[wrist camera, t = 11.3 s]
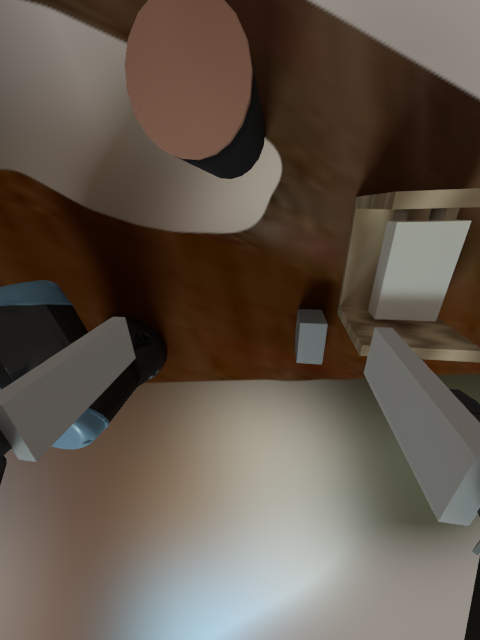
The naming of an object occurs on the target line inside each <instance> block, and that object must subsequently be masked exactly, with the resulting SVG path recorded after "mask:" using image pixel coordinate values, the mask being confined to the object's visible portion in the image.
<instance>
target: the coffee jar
mask: <svg viewBox="0 0 480 640" xmlns="http://www.w3.org/2000/svg"><path fill="white" fill-rule="evenodd" d="M125 71H126V81H127V91H128V95H129V98H130V101H131V104H132V107H133V110H134V113H135V116H136V118H137V119H138V121H139V123H140V124H141V126H142V128H143V129H144V131H145V132H146V134H147V136H148V137H149V138H150V139H151V140H152V141H154V143H155V144H157V145H158V146H159V147H160V148H161V149H162V150H163V151H165V152H168V153H170V154H172V155H174V156H176V157H177V158H179V159H182V160H184V161H186V162H188V163H190V164H192V165H194V166H196V167H198V168H200V169H202V170H204V171H207V172H209V173H211V174H213V175H215V176H217V177H220V178H226V179H233V178H236V177H239V176H242V175H243V174H245V173H246V172H248V171H249V170H250V169H251V168H252V167H253V165H254V164H255V163H256V161H257V160H258V159H259V156H260V154H261V151H262V148H263V146H264V137H265V126H264V120H263V114H262V109H261V104H260V99H259V94H258V88H257V83H256V78H255V73H254V68H253V63H252V59H251V56H250V50H249V44H248V39H247V37H246V35H245V32H244V30H243V28H242V26H241V23H240V21H239V19H238V16H237V14H236V13H235V12H234V10H233V9H232V8H231V7H230V6H229V5H228V4H227V2H226V1H225V0H148V1H147V2H146V4H145V5H144V6H143V7H142V8H141V10H140V11H139V12H138V14H137V17H136V19H135V22H134V24H133V27H132V29H131V32H130V35H129V37H128V44H127V52H126V61H125Z"/></svg>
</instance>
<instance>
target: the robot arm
mask: <svg viewBox="0 0 480 640" xmlns="http://www.w3.org/2000/svg"><path fill="white" fill-rule="evenodd" d="M166 357H167V353H166V348H165V345H164V343H163V341H162V339H161V338H160V336H159V335H158V334H157V333H156V332H155V331H154V330H153V329H152V328H150V327H149V326H147V325H146V324H144V323H142V322H139V321H136V320H132V319H125V317H112V318H110V319H109V320H107V321H106V322H104V323H103V324H101V325H99V326H98V327H96V328H95V329H93V330H92V331H90V332H89V333H88V331H87V329H86V328H85V326H84V324H83V323H82V321H81V319H80V317H79V316H78V314H77V312H76V311H75V309H74V307H73V304H72V303H71V302H70V301H69V300H68V299H67V297H66V296H65V294H64V293H63V291H62V290H61V288H60V287H59V286H58V285H57V284H55V283H54V282H51V281H47V280H39V281H31V282H25V283H19V284H13V285H7V286H2V287H0V484H1V481H2V477H3V474H4V471H5V467H6V458H5V457H4V454H6V453H7V452H8V451H9V450H10V449H11V448H12V450H13V451H14V453H15V454H16V456H17V457H18V459H21V460H27V461H34V462H37V461H38V460H39V459H40V458H41V457H42V456H43V455H44V454H45V452H46V451H47V450H48V449H49V448H50V447H51V446H53V447H56V448H61V449H79V448H83V447H85V446H87V445H89V444H90V443H92V442H93V441H94V440H95V439H96V438H97V437H98V436H99V435H100V433H101V432H102V431H103V430H104V429H106V428H107V427H108V425H109V423H110V421H111V420H112V419H113V417H114V416H115V415H116V414H117V412H118V411H119V410H120V409H121V407H122V406H123V405H124V403H125V402H126V401H127V399H128V398H129V397H130V396H131V395H132V393H133V392H134V391H135V389H136V388H137V387H138V386H140V385H141V384H143V383H145V382H146V381H148V380H149V379H151V378H153V377H154V376H156V375H157V374H158V373H159V372H160V370H161V369H162V368H163V366H164V364H165V362H166ZM364 375H365V377H366V379H367V380H368V383H369V385H370V387H371V389H372V390H373V393H374V395H375V397H376V399H377V401H378V403H379V405H380V407H381V409H382V411H383V413H384V415H385V417H386V419H387V421H388V423H389V425H390V427H391V429H392V430H393V433H394V435H395V437H396V439H397V441H398V442H399V445H400V447H401V449H402V451H403V452H404V454H405V457H406V459H407V460H408V463H409V465H410V467H411V469H412V471H413V472H414V475H415V477H416V479H417V480H418V482H419V484H420V487H421V489H422V490H423V493H424V494H425V496H426V499H427V501H428V502H429V504H430V506H431V508H432V510H433V512H434V514H435V516H436V518H437V520H438V521H439V522H445V523H452V524H459V525H466V526H469V525H470V524H471V522H472V521H473V519H474V518H475V517H476V515H477V514H479V516H480V404H479V403H478V402H477V401H476V400H474V399H472V398H471V397H469V396H468V395H466V394H465V393H463V392H461V391H460V390H455V389H448V388H447V387H446V386H445V385H444V383H442V381H441V380H440V379H439V378H438V377H437V376H436V375H435V374H434V373H433V372H432V370H431V369H430V368H429V367H428V366H427V365H426V364H425V363H424V362H423V361H422V360H421V359H420V357H419V356H418V355H417V354H416V353H415V352H414V351H413V350H412V349H411V348H410V347H409V346H408V344H407V343H406V342H405V341H404V340H403V339H402V338H401V337H400V336H399V335H398V334H397V333H396V331H395V330H394V329H393V328H385V327H375V329H374V333H373V337H372V341H371V345H370V350H369V354H368V358H367V362H366V366H365V371H364ZM473 552H474V553H475V554H477V555H478V554H479V553H480V541H479V542H478V544H477V545H476V546H475V548H474V549H473ZM464 640H480V559H479V564H478V569H477V574H476V580H475V585H474V591H473V596H472V601H471V607H470V612H469V617H468V623H467V628H466V634H465V639H464Z"/></svg>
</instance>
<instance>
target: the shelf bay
mask: <svg viewBox="0 0 480 640" xmlns="http://www.w3.org/2000/svg"><path fill="white" fill-rule="evenodd" d="M462 207H480V188H475V189H450V190H425V191H400V192H389V193H382V194H374V195H366V196H359V197H356V198H355V204H354V210H353V217H352V223H351V229H350V236H349V242H348V248H347V255H346V261H345V267H344V274H343V280H342V286H341V293H340V299H339V305H338V312H337V314H338V316H339V318H340V319H341V321H342V323H343V325H344V327H345V329H346V331H347V333H348V334H349V336H350V338H351V340H352V342H353V344H354V346H355V348H356V349H357V351H358V353H359V355H360V356H368V354H369V350H370V345H371V341H372V337H373V333H374V329H375V327H385V328H393V329H394V330H395V331H396V333H397V334H398V335H399V336H400V337H401V338H402V339H403V340H404V341H405V342H406V343H407V344H408V346H409V347H410V348H411V349H412V350H413V351H414V352H415V353H416V354H417V355H418V356H419V357H420V359H430V360H448V361H465V362H480V347H478V346H477V345H475V344H474V343H472V342H471V341H470V340H468V339H467V338H465V337H464V336H463V335H461V334H460V333H458V332H457V331H455V330H454V329H453V328H451V327H450V326H448V325H447V324H446V323H444V322H443V321H441V320H440V319H438V318H437V319H436V321H415V320H386V319H374V318H373V317H372V315H371V314H370V313H369V312H368V308H369V303H370V298H371V294H372V289H373V284H374V280H375V275H376V271H377V266H378V261H379V257H380V252H381V248H382V243H383V238H384V234H385V229H386V225H387V221H414V220H456V218H457V215H458V212H459V209H460V208H462Z"/></svg>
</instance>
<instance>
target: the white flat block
mask: <svg viewBox="0 0 480 640" xmlns="http://www.w3.org/2000/svg"><path fill="white" fill-rule="evenodd" d="M470 224H471V221H467V220H414V221H387V225H386V229H385V234H384V238H383V243H382V248H381V252H380V257H379V261H378V266H377V271H376V275H375V280H374V284H373V289H372V294H371V298H370V303H369V308H368V312H369V313H370V314H371V315H372V317H373V318H374V319H386V320H415V321H436V319H437V316H438V314H439V311H440V308H441V305H442V302H443V300H444V297H445V294H446V291H447V288H448V286H449V283H450V280H451V277H452V274H453V272H454V269H455V266H456V263H457V260H458V258H459V255H460V252H461V249H462V246H463V244H464V241H465V238H466V235H467V232H468V230H469V227H470Z"/></svg>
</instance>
